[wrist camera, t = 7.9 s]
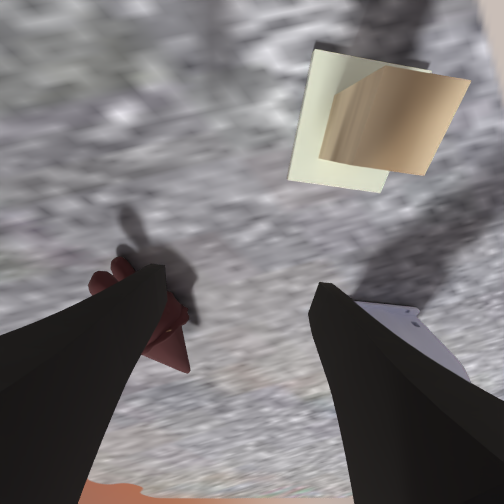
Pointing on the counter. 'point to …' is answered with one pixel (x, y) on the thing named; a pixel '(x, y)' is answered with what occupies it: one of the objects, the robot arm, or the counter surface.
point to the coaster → (316, 117)
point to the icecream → (168, 329)
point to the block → (392, 120)
